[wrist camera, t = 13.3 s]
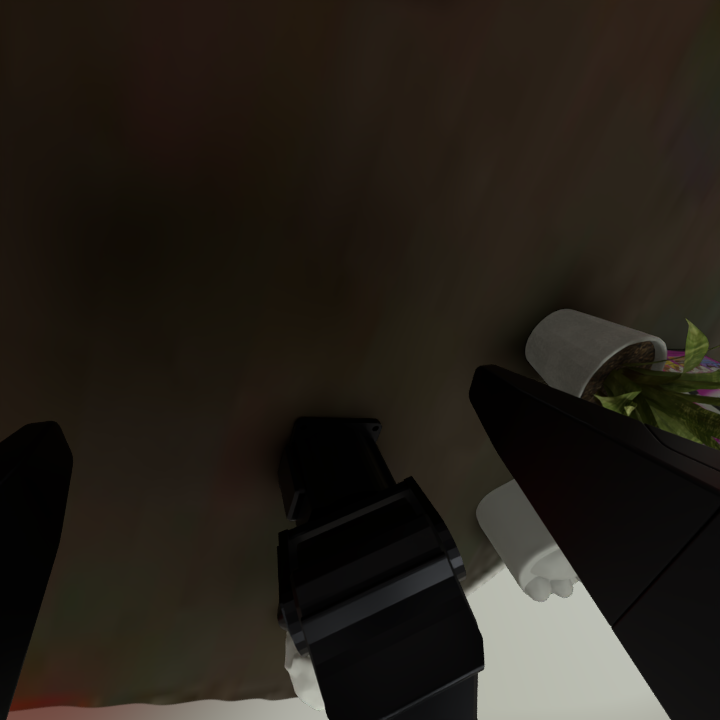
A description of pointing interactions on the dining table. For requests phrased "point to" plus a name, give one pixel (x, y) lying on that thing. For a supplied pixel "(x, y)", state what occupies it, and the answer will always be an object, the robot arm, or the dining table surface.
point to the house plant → (627, 372)
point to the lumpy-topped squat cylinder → (525, 543)
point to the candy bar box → (704, 367)
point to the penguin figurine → (303, 676)
